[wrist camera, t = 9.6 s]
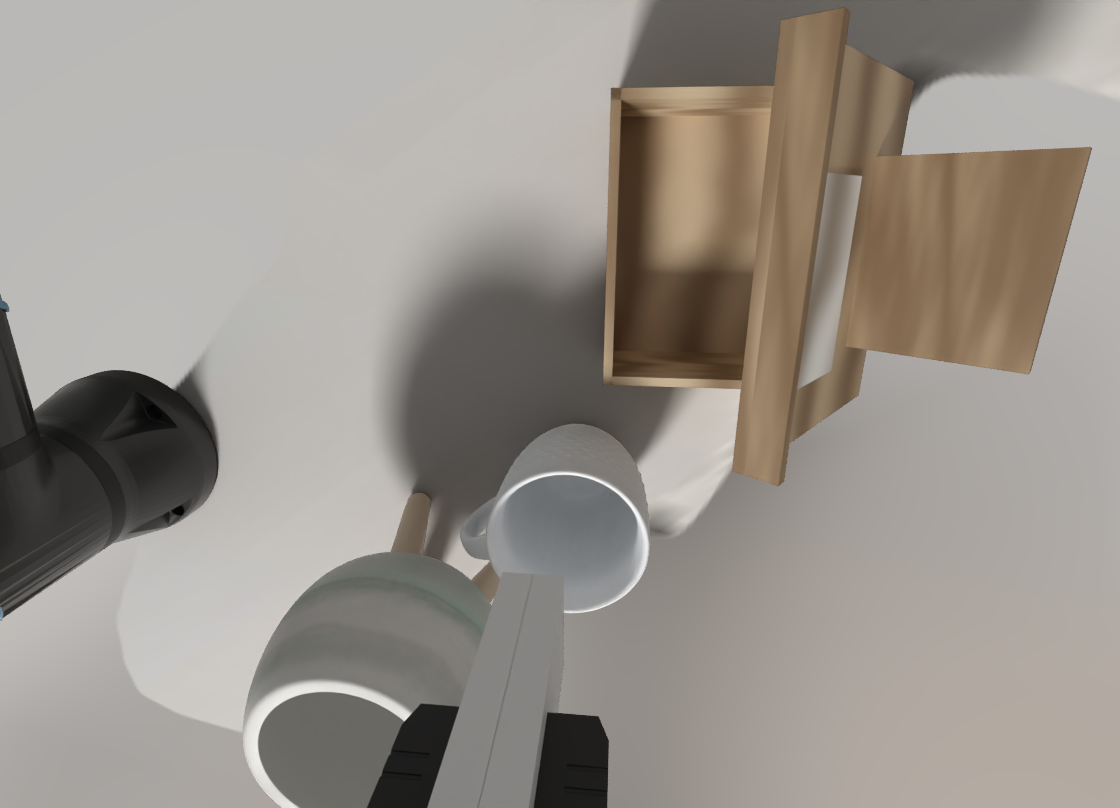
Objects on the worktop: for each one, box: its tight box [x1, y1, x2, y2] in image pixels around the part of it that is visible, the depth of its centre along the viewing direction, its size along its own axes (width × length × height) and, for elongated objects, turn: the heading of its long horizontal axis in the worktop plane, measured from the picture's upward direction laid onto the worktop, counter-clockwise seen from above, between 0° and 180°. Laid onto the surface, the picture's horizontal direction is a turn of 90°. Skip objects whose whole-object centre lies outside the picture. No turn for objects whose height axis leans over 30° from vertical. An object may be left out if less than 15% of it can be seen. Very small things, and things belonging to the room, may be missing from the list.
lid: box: [732, 7, 1092, 486], centre depth 27 cm, size 16×18×9 cm
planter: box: [243, 493, 500, 808], centre depth 44 cm, size 16×16×22 cm
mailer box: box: [603, 86, 774, 389], centre depth 40 cm, size 16×18×8 cm
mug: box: [460, 424, 650, 613], centre depth 45 cm, size 15×11×13 cm
